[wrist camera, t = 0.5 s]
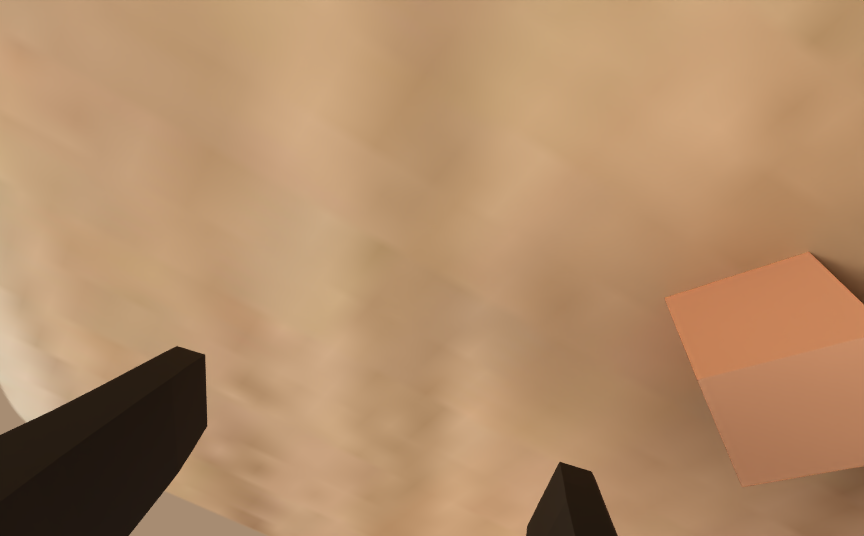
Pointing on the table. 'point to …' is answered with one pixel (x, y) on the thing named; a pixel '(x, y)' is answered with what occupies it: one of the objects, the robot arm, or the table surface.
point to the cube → (779, 367)
